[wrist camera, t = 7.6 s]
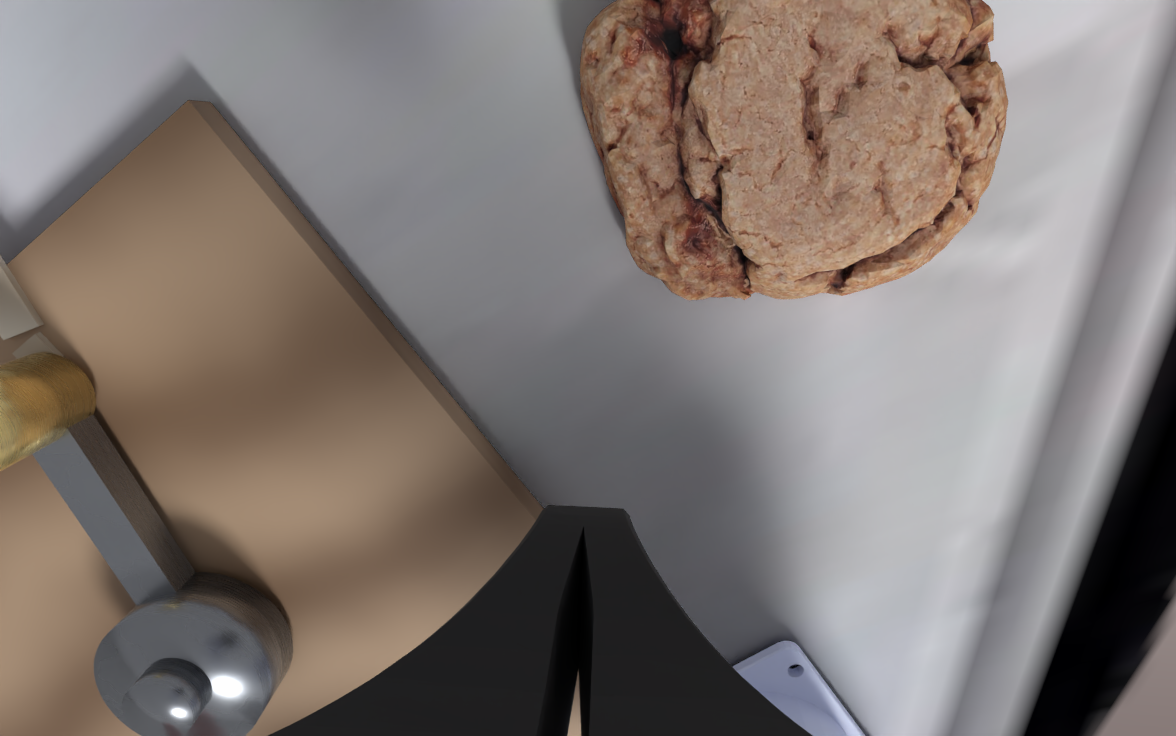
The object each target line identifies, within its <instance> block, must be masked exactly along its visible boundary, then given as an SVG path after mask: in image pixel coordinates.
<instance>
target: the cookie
mask: <svg viewBox="0 0 1176 736" xmlns="http://www.w3.org/2000/svg"><path fill="white" fill-rule="evenodd" d="M993 18H994V14H993V12H992V10H991V8H990V6H988V5H987V4H986V3H985V2H983V1H982V0H617V1H615V2H613V3H611V4H610V5H608V6H607V7H606V8H604V9H603V10H602V11H601V12H600V13H599V14H598V15H597V16H596V17H595V18H594V19H593V20H592V22H591V23H590V24H589V26H588V27H587V29H586V33H585V36H584V40H583V44H582V51H581V61H580V82H581V90H580V95H581V100H582V105H583V110H584V113H585V117H586V121H587V124H588V128H589V130H590V133H591V136H592V139H593V142H594V144H595V147H596V149H597V151H598V154H599V156H600V158H601V161H602V163H603V165H604V173H605V177H606V181H607V185H608V187H609V189H610V193H611V195H612V197H613V199H614V201H615V203H616V205H617V207H618V209H619V211H620V213H621V214H622V216H623V217H624V219H625V227H626V245H627V247H628V249H629V251H630V253H631V255H632V257H633V259H634V261H635V262H636V264H637V266H638V267H639V268H640V269H642V270H643V271H644V272H646V273H647V274H649V275H651V276H654V277H656V278H659V279H661V280H662V281H663V283H664V284H665V285H666V286H667V288H668V289H669V290H670V291H671V292H673V293H675V294H677V295H679V296H681V297H683V298H685V299H687V300H702V299H706V298H708V297H729V296H732V297H734V298H741V299H744V300H745V299H747V298H749V297H751V295H750V294H752V293H754V292H757V293H761V294H763V295H767V296H770V297H773V298H776V299H796V298H804V297H807V296H811V295H815V294H818V293H830V294H836V295H841V296H843V295H847V294H851V293H854V292H858V291H861V290H864V289H868V288H872V287H874V286H877V285H879V284H883V283H886V282H889V281H892V280H896V279H899V278H901V277H903V276H905V275H907V274H909V273H911V272H913V271H915V270H916V269H918V268H920V267H921V266H922V265H924V264H925V263H927V262H929V261H930V260H931V259H932V258H933V257H934V256H935V255H936V254H937V253H939V252H940V251H941V250H942V249H944V248H945V247H946V246H947V244H948V243H949V242H950V241H951V240H952V239H953V237H954V236H955V235H956V234H957V233H958V232H959V231H960V230H961V229H962V228H963V227H964V226H965V225H966V224H967V223H968V222H969V221H970V219H971V218H972V217H973V216H974V215H975V213H976V212H977V208H978V203H979V199H980V197H981V195H982V194H983V193H984V191H985V190H986V189H987V187H988V186H989V183H990V180H991V177H992V174H993V171H994V168H995V162H996V159H997V157H998V154H999V150H1000V146H1001V141H1002V137H1003V134H1004V131H1005V127H1006V112H1007V106H1008V98H1007V95H1006V88H1005V82H1004V77H1003V73H1002V69H1001V68H1000V67H999V65H998V63H997V62H996V61H995V62H991V59H990V51H989V48H988V44H987V43H988V42H990V41H992V40H993Z"/></svg>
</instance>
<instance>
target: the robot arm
mask: <svg viewBox="0 0 1176 736" xmlns="http://www.w3.org/2000/svg"><path fill="white" fill-rule="evenodd" d="M795 664H798V665H799V666H798V667H797V668H793V669H792V668H789V667H790V666H791V665H795ZM578 670H579V696H580V720H581V736H865V734H864V733H863V732H862V730H861V729H860V728H859V726H858V725H857V724H856V722H855V721H854V720H853V718H852V717H851V716H850V714H849V713H848V712H847V710H846V709H845V708H844V706H843V705H842V704H841V702H840V701H839V700H838V698H837V697H836V695H835V694H834V693H833V691H832V690H831V689H830V687H829V686H828V685H827V683H826V682H825V681H824V679H823V678H822V677H821V675H820V674H819V673H818V671H817V670H816V669H815V667H814V666H813V665H812V663H811V662H810V661H809V659H808V658H807V657H806V655H805V654H804V653H803V651H802V650H801V649H800V647H799V646H798V645H797V644H796V643H794V642H791V641H781V642H778V643H776V644H774V645H772V646H770V647H768V648H766V649H765V650H763V651H761V652H759V653H757V654H755V655H753V656H751V657H749V658H747V659H746V660H744V661H742V662H740V663H738V664H736V665H734V666H731V665H730V664H729V663H728V662H727V661H726V660H725V659H724V658H723V657H722V656H721V655H720V654H719V652H718V651H717V650H716V649H715V648H714V647H713V646H712V645H711V644H710V642H709V641H708V640H707V639H706V638H705V637H704V635H703V634H702V633H701V632H700V631H699V629H698V628H697V627H696V626H695V624H694V623H693V622H692V621H691V619H690V618H689V617H688V615H687V614H686V613H685V611H684V610H683V609H682V607H681V606H680V605H679V603H678V602H677V601H676V599H675V598H674V596H673V595H672V593H671V592H670V590H669V589H668V588H667V586H666V584H665V583H664V581H663V580H662V578H661V577H660V575H659V573H658V572H657V570H656V569H655V567H654V565H653V564H652V562H651V560H650V559H649V557H648V555H647V553H646V551H645V550H644V548H643V546H642V544H641V542H640V540H639V538H638V536H637V534H636V532H635V529H634V527H633V525H632V522H631V519H630V516H629V515H628V514H627V512H626V511H625V510H624V509H618V508H598V507H577V506H556V505H548V506H547V507H546V508H545V509H543V510H542V511H541V513H540V515H539V516H538V518H537V520H536V521H535V523H534V524H533V526H532V527H531V529H530V530H529V531H528V533H527V534H526V536H525V537H524V538H523V540H522V541H521V542H520V544H519V545H518V546H517V548H516V549H515V550H514V551H513V552H512V554H511V555H510V556H509V557H508V558H507V560H506V561H505V562H504V563H503V565H502V566H501V567H500V568H499V569H498V571H497V572H496V573H495V574H494V575H493V576H492V577H491V578H490V579H489V580H488V581H487V583H486V584H485V585H484V586H483V587H482V588H481V589H480V590H479V591H478V592H477V593H476V594H475V595H474V596H473V597H472V598H471V599H470V600H469V601H468V602H467V603H466V604H465V605H464V606H463V607H462V608H461V609H460V610H459V611H458V612H457V613H456V614H455V615H454V616H453V617H452V618H450V619H449V620H448V621H447V622H446V623H445V624H444V625H443V626H441V627H440V628H439V629H438V630H437V631H436V632H434V633H433V634H432V635H431V636H430V637H428V638H427V639H426V640H425V641H424V642H422V643H421V644H420V645H418V646H417V647H416V648H414V649H413V650H412V651H410V652H409V653H408V654H406V655H405V656H403V657H402V658H401V659H399V660H398V661H396V662H395V663H393V664H392V665H391V666H389V667H388V668H386V669H385V670H383V671H382V672H381V673H379V674H378V675H376V676H375V677H373V678H372V679H370V680H369V681H367V682H365V683H364V684H362V685H360V686H359V687H357V688H356V689H354V690H352V691H351V692H349V693H347V694H346V695H344V696H342V697H341V698H339V699H337V700H335V701H333V702H332V703H330V704H328V705H326V706H325V707H323V708H321V709H319V710H317V711H316V712H314V713H312V714H310V715H308V716H306V717H304V718H302V719H301V720H299V721H297V722H295V723H293V724H291V725H289V726H287V727H285V728H282V729H280V730H278V731H276V732H274V733H272V734H270V735H268V736H567V735H568V729H569V723H570V717H571V711H572V705H573V699H574V693H575V687H576V681H577V675H578Z"/></svg>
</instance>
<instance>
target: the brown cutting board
mask: <svg viewBox="0 0 1176 736" xmlns="http://www.w3.org/2000/svg"><path fill="white" fill-rule="evenodd" d="M38 352H48V353H53V354H57V355H60V356H62V357H65V358H67V359H68V360H70V361H72V362H73V363H74V364H76V365H77V366H78V367H79V368H80V369H81V370H82V371H83V372H84V373H85V374H86V376H87V377H88V378H89V380H90V382H91V384H92V386H93V388H94V392H95V396H96V407H95V411H94V416H95V418H96V419H97V421H98V422H99V424H100V425H101V427H102V428H103V430H104V431H105V433H106V435H107V436H108V438H109V439H110V441H111V442H112V444H113V445H114V447H115V448H116V450H117V452H118V453H119V455H120V456H121V458H122V459H123V461H124V462H125V464H126V465H127V467H128V468H129V470H130V472H131V473H132V475H133V476H134V478H135V479H136V481H137V482H138V484H139V485H140V487H141V489H142V490H143V492H144V493H145V495H146V496H147V498H148V499H149V501H150V502H151V504H152V506H153V507H154V509H155V510H156V512H157V513H158V515H159V516H160V518H161V519H162V521H163V523H164V524H165V526H166V527H167V529H168V530H169V532H170V533H171V535H172V536H173V538H174V540H175V541H176V543H177V544H178V546H179V547H180V549H181V550H182V552H183V553H184V555H185V557H186V558H187V560H188V561H189V563H190V564H191V566H192V567H193V569H194V570H195V572H208V573H216V574H221V575H226V576H229V577H232V578H235V579H237V580H240V581H242V582H244V583H246V584H248V585H250V586H251V587H253V588H255V589H256V590H258V591H259V592H261V593H262V594H263V595H264V596H266V597H267V598H268V599H269V600H270V601H271V602H272V603H273V604H274V605H275V606H276V607H277V609H278V610H279V611H280V613H281V614H282V616H283V617H284V619H285V621H286V623H287V624H288V627H289V630H290V632H291V636H292V641H293V657H292V661H291V665H290V667H289V669H288V672H287V673H286V675H285V677H284V678H283V680H282V682H281V683H280V685H279V687H278V688H277V690H276V691H275V693H274V695H273V696H272V698H271V700H270V701H269V703H268V705H267V706H266V708H265V710H264V711H263V713H262V714H261V716H260V718H259V719H258V721H257V723H256V724H255V725H254V727H253V728H252V729H251V730H250V731H249V732H248V733H247V734H246V735H245V736H268V735H270V734H272V733H274V732H276V731H278V730H280V729H282V728H285V727H287V726H289V725H291V724H293V723H295V722H297V721H299V720H301V719H302V718H304V717H306V716H308V715H310V714H312V713H314V712H316V711H317V710H319V709H321V708H323V707H325V706H326V705H328V704H330V703H332V702H333V701H335V700H337V699H339V698H341V697H342V696H344V695H346V694H347V693H349V692H351V691H352V690H354V689H356V688H357V687H359V686H360V685H362V684H364V683H365V682H367V681H369V680H370V679H372V678H373V677H375V676H376V675H378V674H379V673H381V672H382V671H383V670H385V669H386V668H388V667H389V666H391V665H392V664H393V663H395V662H396V661H398V660H399V659H401V658H402V657H403V656H405V655H406V654H408V653H409V652H410V651H412V650H413V649H414V648H416V647H417V646H418V645H420V644H421V643H422V642H424V641H425V640H426V639H427V638H428V637H430V636H431V635H432V634H433V633H434V632H436V631H437V630H438V629H439V628H440V627H441V626H443V625H444V624H445V623H446V622H447V621H448V620H449V619H450V618H452V617H453V616H454V615H455V614H456V613H457V612H458V611H459V610H460V609H461V608H462V607H463V606H464V605H465V604H466V603H467V602H468V601H469V600H470V599H471V598H472V597H473V596H474V595H475V594H476V593H477V592H478V591H479V590H480V589H481V588H482V587H483V586H484V585H485V584H486V583H487V581H488V580H489V579H490V578H491V577H492V576H493V575H494V574H495V573H496V572H497V571H498V569H499V568H500V567H501V566H502V565H503V563H504V562H505V561H506V560H507V558H508V557H509V556H510V555H511V554H512V552H513V551H514V550H515V549H516V548H517V546H518V545H519V544H520V542H521V541H522V540H523V538H524V537H525V536H526V534H527V533H528V531H529V530H530V529H531V527H532V526H533V524H534V523H535V521H536V520H537V518H538V516H539V515H540V513H541V511H542V510H543V507H542V506H541V505H540V504H539V503H538V501H537V500H536V499H535V498H534V496H533V495H532V494H531V493H530V492H529V490H528V489H527V488H526V487H525V485H524V484H523V483H522V482H521V481H520V479H519V478H518V477H517V476H516V474H515V473H514V472H513V471H512V470H511V468H510V467H509V466H508V465H507V463H506V462H505V461H504V460H503V459H502V457H501V456H500V455H499V454H498V452H497V451H496V450H495V449H494V448H493V446H492V445H491V444H490V443H489V441H488V440H487V439H486V438H485V437H484V435H483V434H482V433H481V432H480V430H479V429H478V428H477V427H476V426H475V424H474V423H473V422H472V421H471V419H470V418H469V417H468V416H467V415H466V413H465V412H464V411H463V410H462V409H461V407H460V406H459V405H458V404H457V402H456V401H455V400H454V399H453V398H452V396H451V395H450V394H449V393H448V391H447V390H446V389H445V388H444V387H443V385H442V384H441V383H440V382H439V380H438V379H437V378H436V377H435V376H434V374H433V373H432V372H431V371H430V369H429V368H428V367H427V366H426V365H425V363H424V362H423V361H422V360H421V358H420V357H419V356H418V355H417V354H416V352H415V351H414V350H413V349H412V347H411V346H410V345H409V344H408V343H407V341H406V340H405V339H404V338H403V336H402V335H401V334H400V333H399V332H398V330H397V329H396V328H395V327H394V325H393V324H392V323H391V322H390V321H389V319H388V318H387V317H386V316H385V315H384V313H383V312H382V311H381V310H380V308H379V307H378V306H377V305H376V304H375V302H374V301H373V300H372V299H371V297H370V296H369V295H368V294H367V293H366V291H365V290H364V289H363V288H362V286H361V285H360V284H359V283H358V282H357V280H356V279H355V278H354V277H353V275H352V274H351V273H350V272H349V271H348V269H347V268H346V267H345V266H344V264H343V263H342V262H341V261H340V260H339V258H338V257H337V256H336V255H335V253H334V252H333V251H332V250H331V249H330V247H329V246H328V245H327V244H326V242H325V241H324V240H323V239H322V238H321V236H320V235H319V234H318V233H317V231H316V230H315V229H314V228H313V227H312V225H311V224H310V223H309V222H308V221H307V219H306V218H305V217H304V216H303V214H302V213H301V212H300V211H299V210H298V208H297V207H296V206H295V205H294V203H293V202H292V201H291V200H290V199H289V197H288V196H287V195H286V194H285V192H284V191H283V190H282V189H281V188H280V186H279V185H278V184H277V183H276V181H275V180H274V179H273V178H272V177H271V175H270V174H269V173H268V172H267V170H266V169H265V168H264V167H263V166H262V164H261V163H260V162H259V161H258V159H257V158H256V157H255V156H254V155H253V153H252V152H251V151H250V150H249V148H248V147H247V146H246V145H245V144H244V142H243V141H242V140H241V139H240V137H239V136H238V135H237V134H236V133H235V131H234V130H233V129H232V128H231V127H230V125H229V124H228V123H227V122H226V120H225V119H224V118H223V117H222V116H221V114H220V113H219V112H218V111H217V109H216V108H215V107H214V106H213V105H212V103H211V102H204V101H192V100H188V101H187V102H186V103H185V104H183V105H182V106H181V107H180V108H179V109H178V110H177V111H176V112H175V113H174V114H172V115H171V116H170V117H169V118H168V119H167V120H166V121H165V122H164V123H163V124H161V125H160V126H159V127H158V128H157V129H156V130H155V131H154V132H153V133H151V134H150V135H149V136H148V137H147V138H146V139H145V140H144V141H143V142H142V143H140V144H139V145H138V146H137V147H136V148H135V149H134V150H133V151H132V152H131V153H129V154H128V155H127V156H126V157H125V158H124V159H123V160H122V161H121V162H120V163H118V164H117V165H116V166H115V167H114V168H113V169H112V170H111V171H110V172H108V173H107V174H106V175H105V176H104V177H103V178H102V179H101V180H100V181H99V182H97V183H96V184H95V185H94V186H93V187H92V188H91V189H90V190H89V191H88V192H86V193H85V194H84V195H83V196H82V197H81V198H80V199H79V200H78V201H77V202H75V203H74V204H73V205H72V206H71V207H70V208H69V209H68V210H67V211H65V212H64V213H63V214H62V215H61V216H60V217H59V218H58V219H57V220H56V221H54V222H53V223H52V224H51V225H50V226H49V227H48V228H47V229H46V230H45V231H43V232H42V233H41V234H40V235H39V236H38V237H37V238H36V239H35V240H34V241H32V242H31V243H30V244H29V245H28V246H27V247H26V248H25V249H24V250H22V251H21V252H20V253H19V254H18V255H17V256H16V257H15V258H14V259H13V260H11V261H10V262H9V263H8V264H7V265H6V263H5V262H4V260H3V258H2V257H1V255H0V365H2V364H5V363H8V362H11V361H13V360H16V359H19V358H21V357H24V356H27V355H29V354H33V353H38ZM135 606H136V604H135V602H134V601H133V600H132V598H131V597H130V595H129V594H128V592H127V591H126V589H125V588H124V587H123V585H122V584H121V582H120V581H119V579H118V578H117V576H116V575H115V573H114V572H113V571H112V569H111V568H110V566H109V565H108V563H107V562H106V560H105V559H104V558H103V556H102V555H101V553H100V552H99V550H98V549H97V547H96V546H95V544H94V543H93V542H92V540H91V539H90V537H89V536H88V534H87V533H86V531H85V530H84V529H83V527H82V526H81V524H80V523H79V521H78V520H77V518H76V517H75V516H74V514H73V513H72V511H71V510H70V508H69V507H68V505H67V504H66V502H65V501H64V500H63V498H62V497H61V495H60V494H59V492H58V491H57V489H56V488H55V487H54V485H53V484H52V482H51V481H50V479H49V478H48V476H47V475H46V473H45V472H44V471H43V469H42V468H41V466H40V465H39V463H38V462H37V460H36V459H35V458H34V456H33V455H32V454H31V455H30V456H28V457H26V458H24V459H22V460H20V461H19V462H17V463H15V464H13V465H11V466H9V467H8V468H6V469H4V470H2V471H0V736H141V735H139V734H137V733H136V732H134V731H133V730H131V729H130V728H129V727H127V726H126V725H125V724H124V723H122V722H121V721H120V720H119V719H118V718H117V717H116V716H115V715H114V714H113V713H112V711H111V710H110V709H109V708H108V706H107V705H106V703H105V702H104V700H103V699H102V697H101V695H100V693H99V691H98V688H97V685H96V682H95V677H94V658H95V654H96V651H97V648H98V646H99V644H100V643H101V641H102V639H103V638H104V637H105V636H106V635H107V633H108V632H109V631H110V630H111V629H112V628H114V627H115V626H116V625H117V624H118V623H119V622H120V621H121V620H122V619H123V618H124V617H125V616H126V615H127V614H128V613H129V612H130V611H131V610H132V609H133V608H134V607H135ZM567 736H581V720H580V696H579V670H578V675H577V681H576V687H575V693H574V699H573V705H572V711H571V717H570V723H569V729H568V735H567Z"/></svg>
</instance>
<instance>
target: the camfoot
mask: <svg viewBox="0 0 1176 736" xmlns="http://www.w3.org/2000/svg"><path fill="white" fill-rule="evenodd" d="M95 407H96V396H95V392H94V388H93V386H92V384H91V382H90V380H89V378H88V377H87V376H86V374H85V373H84V372H83V371H82V370H81V369H80V368H79V367H78V366H77V365H76V364H74V363H73V362H72V361H70V360H68V359H67V358H65V357H62V356H60V355H57V354H53V353H48V352H38V353H33V354H29V355H27V356H24V357H21V358H19V359H16V360H13V361H11V362H8V363H5V364H2V365H0V471H2V470H4V469H6V468H8V467H9V466H11V465H13V464H15V463H17V462H19V461H20V460H22V459H24V458H26V457H28V456H30V455H31V454H32V455H33V456H34V458H35V459H36V460H37V462H38V463H39V465H40V466H41V468H42V469H43V471H44V472H45V473H46V475H47V476H48V478H49V479H50V481H51V482H52V484H53V485H54V487H55V488H56V489H57V491H58V492H59V494H60V495H61V497H62V498H63V500H64V501H65V502H66V504H67V505H68V507H69V508H70V510H71V511H72V513H73V514H74V516H75V517H76V518H77V520H78V521H79V523H80V524H81V526H82V527H83V529H84V530H85V531H86V533H87V534H88V536H89V537H90V539H91V540H92V542H93V543H94V544H95V546H96V547H97V549H98V550H99V552H100V553H101V555H102V556H103V558H104V559H105V560H106V562H107V563H108V565H109V566H110V568H111V569H112V571H113V572H114V573H115V575H116V576H117V578H118V579H119V581H120V582H121V584H122V585H123V587H124V588H125V589H126V591H127V592H128V594H129V595H130V597H131V598H132V600H133V601H134V602H135V604H136V606H135V607H134V608H133V609H132V610H131V611H130V612H129V613H128V614H127V615H126V616H125V617H124V618H123V619H122V620H121V621H120V622H119V623H118V624H117V625H116V626H115V627H114V628H112V629H111V630H110V631H109V632H108V633H107V635H106V636H105V637H104V638H103V639H102V641H101V643H100V644H99V646H98V648H97V651H96V654H95V658H94V677H95V682H96V685H97V688H98V691H99V693H100V695H101V697H102V699H103V700H104V702H105V703H106V705H107V706H108V708H109V709H110V710H111V711H112V713H113V714H114V715H115V716H116V717H117V718H118V719H119V720H120V721H121V722H122V723H124V724H125V725H126V726H127V727H129V728H130V729H131V730H133V731H134V732H136V733H137V734H139V735H141V736H245V735H246V734H247V733H248V732H249V731H250V730H251V729H252V728H253V727H254V725H255V724H256V723H257V721H258V719H259V718H260V716H261V714H262V713H263V711H264V710H265V708H266V706H267V705H268V703H269V701H270V700H271V698H272V696H273V695H274V693H275V691H276V690H277V688H278V687H279V685H280V683H281V682H282V680H283V678H284V677H285V675H286V673H287V672H288V669H289V667H290V665H291V661H292V657H293V641H292V636H291V632H290V630H289V627H288V624H287V623H286V621H285V619H284V617H283V616H282V614H281V613H280V611H279V610H278V609H277V607H276V606H275V605H274V604H273V603H272V602H271V601H270V600H269V599H268V598H267V597H266V596H264V595H263V594H262V593H261V592H259V591H258V590H256V589H255V588H253V587H251V586H250V585H248V584H246V583H244V582H242V581H240V580H237V579H235V578H232V577H229V576H226V575H221V574H216V573H208V572H195V570H194V569H193V567H192V566H191V564H190V563H189V561H188V560H187V558H186V557H185V555H184V553H183V552H182V550H181V549H180V547H179V546H178V544H177V543H176V541H175V540H174V538H173V536H172V535H171V533H170V532H169V530H168V529H167V527H166V526H165V524H164V523H163V521H162V519H161V518H160V516H159V515H158V513H157V512H156V510H155V509H154V507H153V506H152V504H151V502H150V501H149V499H148V498H147V496H146V495H145V493H144V492H143V490H142V489H141V487H140V485H139V484H138V482H137V481H136V479H135V478H134V476H133V475H132V473H131V472H130V470H129V468H128V467H127V465H126V464H125V462H124V461H123V459H122V458H121V456H120V455H119V453H118V452H117V450H116V448H115V447H114V445H113V444H112V442H111V441H110V439H109V438H108V436H107V435H106V433H105V431H104V430H103V428H102V427H101V425H100V424H99V422H98V421H97V419H96V418H95V416H94V411H95Z"/></svg>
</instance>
